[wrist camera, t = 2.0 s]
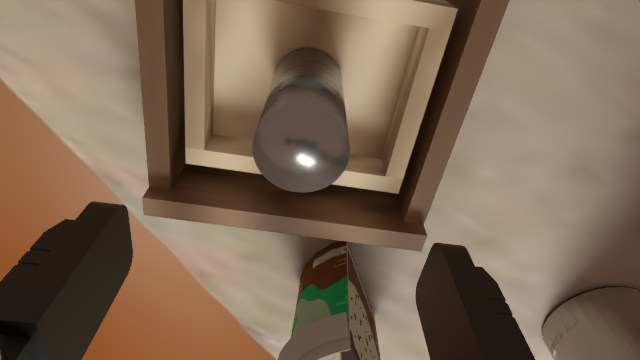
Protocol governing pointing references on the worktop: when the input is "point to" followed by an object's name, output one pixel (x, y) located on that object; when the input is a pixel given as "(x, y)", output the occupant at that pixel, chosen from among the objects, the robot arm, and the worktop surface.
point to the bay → (308, 207)
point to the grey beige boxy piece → (310, 87)
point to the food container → (332, 311)
